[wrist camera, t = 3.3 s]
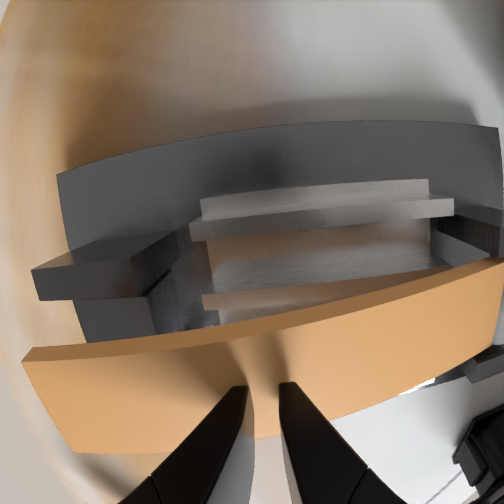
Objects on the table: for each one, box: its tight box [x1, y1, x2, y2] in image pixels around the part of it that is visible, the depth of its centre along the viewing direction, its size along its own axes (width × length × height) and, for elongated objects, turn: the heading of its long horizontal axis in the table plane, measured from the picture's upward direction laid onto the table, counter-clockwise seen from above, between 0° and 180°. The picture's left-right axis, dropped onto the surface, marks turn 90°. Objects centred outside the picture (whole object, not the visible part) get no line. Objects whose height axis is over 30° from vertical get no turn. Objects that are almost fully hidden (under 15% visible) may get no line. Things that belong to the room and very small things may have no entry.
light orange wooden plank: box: [21, 254, 504, 454], centre depth 8 cm, size 17×4×2 cm, turn 97°
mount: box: [31, 120, 504, 395], centre depth 11 cm, size 22×14×6 cm, turn 97°
